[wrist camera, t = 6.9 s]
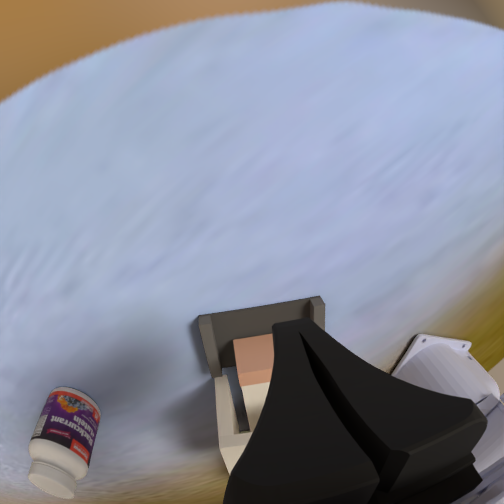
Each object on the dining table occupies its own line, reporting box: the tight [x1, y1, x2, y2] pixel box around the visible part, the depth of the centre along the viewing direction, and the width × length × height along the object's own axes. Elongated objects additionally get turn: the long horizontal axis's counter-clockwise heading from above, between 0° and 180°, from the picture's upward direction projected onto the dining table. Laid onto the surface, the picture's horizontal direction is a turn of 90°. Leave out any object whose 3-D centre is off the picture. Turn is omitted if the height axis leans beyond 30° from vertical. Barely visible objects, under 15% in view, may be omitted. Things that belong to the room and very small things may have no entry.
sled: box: [233, 334, 274, 432], centre depth 24 cm, size 5×21×5 cm, turn 6°
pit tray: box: [199, 296, 325, 378], centre depth 22 cm, size 9×5×1 cm, turn 96°
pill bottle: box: [28, 387, 101, 499], centre depth 19 cm, size 5×5×10 cm
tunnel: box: [215, 374, 253, 474], centre depth 22 cm, size 9×7×7 cm
